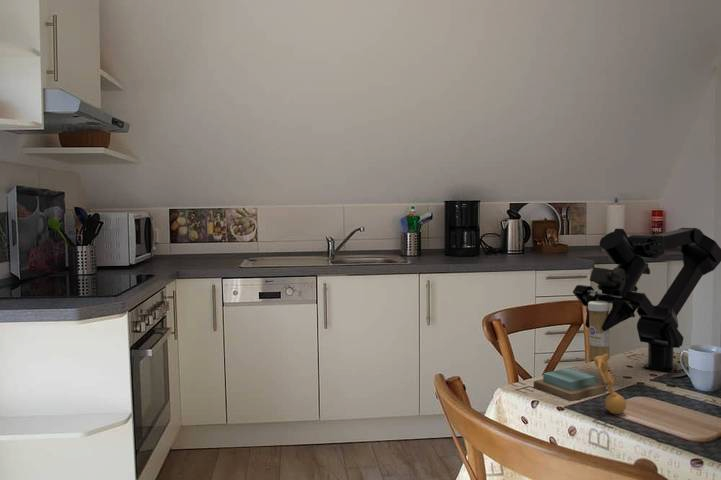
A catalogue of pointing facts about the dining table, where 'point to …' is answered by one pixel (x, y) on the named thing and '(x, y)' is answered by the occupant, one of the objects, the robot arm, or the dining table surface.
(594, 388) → the tower base
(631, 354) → the dining table surface
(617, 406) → the figurine
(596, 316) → the sprinkles bottle
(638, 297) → the robot arm
